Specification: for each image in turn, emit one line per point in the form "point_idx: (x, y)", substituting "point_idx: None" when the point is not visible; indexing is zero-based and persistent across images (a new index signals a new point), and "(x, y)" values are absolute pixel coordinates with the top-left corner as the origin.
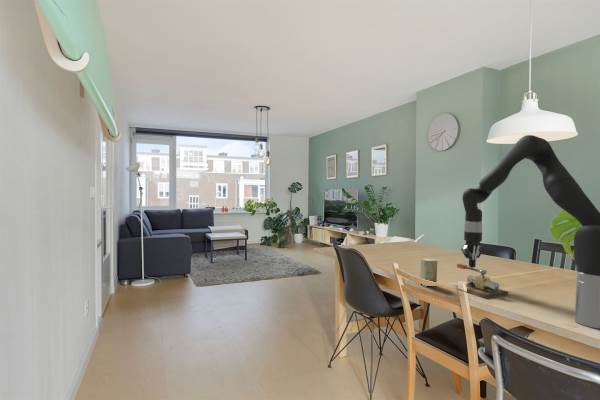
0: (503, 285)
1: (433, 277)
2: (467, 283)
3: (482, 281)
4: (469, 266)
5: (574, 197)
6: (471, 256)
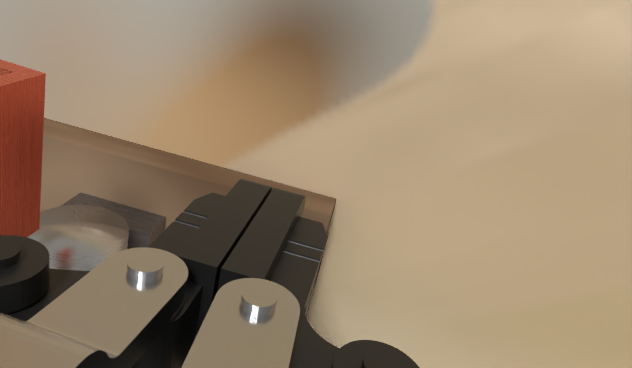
0: (623, 356)
1: None
2: (63, 204)
3: None
4: (242, 184)
5: None
6: (206, 343)
